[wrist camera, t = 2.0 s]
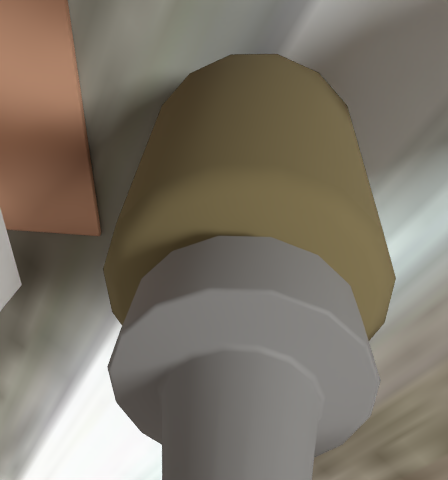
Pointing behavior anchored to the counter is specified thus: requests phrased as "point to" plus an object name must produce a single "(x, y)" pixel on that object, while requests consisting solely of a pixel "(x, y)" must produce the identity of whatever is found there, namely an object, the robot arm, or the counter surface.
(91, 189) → the rail
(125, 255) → the squeeze bottle
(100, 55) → the counter surface
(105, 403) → the counter surface
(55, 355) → the counter surface
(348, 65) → the counter surface
